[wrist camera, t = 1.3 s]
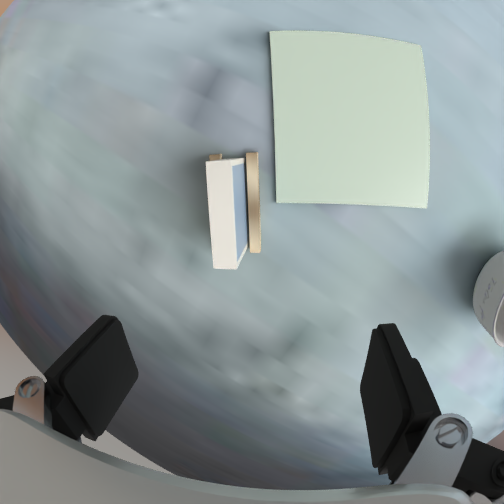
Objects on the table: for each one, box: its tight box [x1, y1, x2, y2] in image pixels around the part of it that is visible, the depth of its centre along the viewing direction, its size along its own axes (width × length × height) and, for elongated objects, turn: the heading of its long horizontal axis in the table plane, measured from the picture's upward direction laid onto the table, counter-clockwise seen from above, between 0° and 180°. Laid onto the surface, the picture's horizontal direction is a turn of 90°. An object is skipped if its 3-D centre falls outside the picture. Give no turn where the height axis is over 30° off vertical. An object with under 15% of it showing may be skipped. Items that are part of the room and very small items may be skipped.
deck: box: [206, 158, 249, 269], centre depth 26 cm, size 9×2×6 cm, turn 2°
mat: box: [270, 31, 430, 208], centre depth 23 cm, size 18×16×1 cm
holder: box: [209, 152, 261, 253], centre depth 28 cm, size 10×5×1 cm, turn 2°
